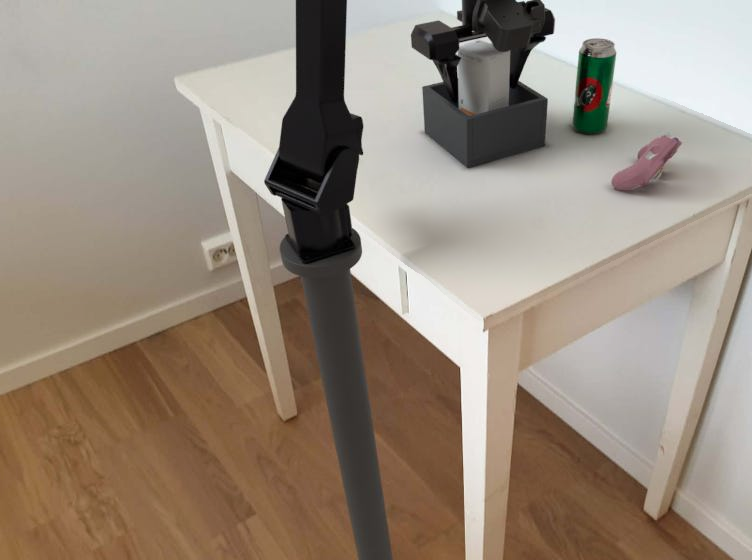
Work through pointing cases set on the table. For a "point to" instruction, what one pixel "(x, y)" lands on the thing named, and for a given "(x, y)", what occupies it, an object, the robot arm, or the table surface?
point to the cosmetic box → (482, 78)
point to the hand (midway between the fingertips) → (484, 94)
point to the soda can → (594, 85)
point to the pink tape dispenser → (647, 163)
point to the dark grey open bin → (485, 125)
